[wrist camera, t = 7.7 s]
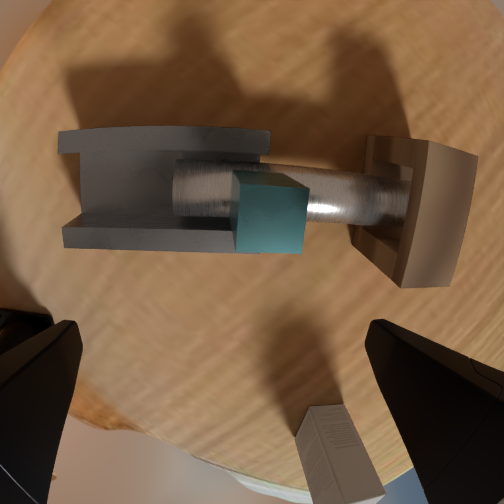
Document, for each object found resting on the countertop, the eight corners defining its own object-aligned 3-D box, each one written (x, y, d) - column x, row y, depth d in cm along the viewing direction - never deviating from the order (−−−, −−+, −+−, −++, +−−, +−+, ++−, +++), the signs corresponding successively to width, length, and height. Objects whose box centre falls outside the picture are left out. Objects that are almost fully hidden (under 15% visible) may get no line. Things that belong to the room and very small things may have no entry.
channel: (90, 224, 19) (64, 247, 15) (89, 130, 17) (58, 131, 13) (250, 229, 21) (260, 254, 17) (258, 131, 19) (271, 130, 14)
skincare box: (327, 435, 31) (358, 519, 20) (293, 438, 30) (318, 528, 19) (346, 402, 29) (388, 494, 18) (308, 404, 28) (343, 505, 17)
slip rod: (178, 208, 18) (156, 257, 11) (180, 156, 17) (156, 172, 10) (405, 222, 20) (476, 264, 13) (412, 180, 19) (490, 207, 12)
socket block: (351, 244, 22) (400, 288, 16) (367, 134, 19) (429, 140, 13) (395, 246, 23) (449, 286, 16) (412, 145, 20) (478, 156, 13)
